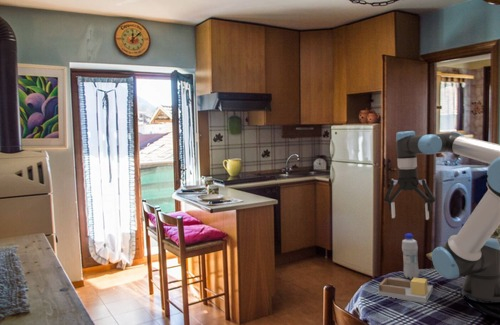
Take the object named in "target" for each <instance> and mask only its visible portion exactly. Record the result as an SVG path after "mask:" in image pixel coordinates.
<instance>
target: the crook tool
mask: <svg viewBox="0 0 500 325" xmlns="http://www.w3.org/2000/svg"><path fill="white" fill-rule="evenodd" d="M388 278H390V279H398V280H405V281H410V279H409V278H401V277H400V278H399V277H398V278H397V277H391V276H390V277H388Z"/></svg>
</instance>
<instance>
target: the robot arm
mask: <svg viewBox="0 0 500 325" xmlns="http://www.w3.org/2000/svg"><path fill="white" fill-rule="evenodd" d="M395 144H396V155H397V156H396V159H397V168H398V169H397V175H398V176H397V180H396V179H391V180H390V183H389V184H390V185H389V187H388V189H387V192H386V194H385V196H384V199H383V201H384V202H387V203H388V210H390V211H391V219H395V218H396V207H395V206H396V205H395V199H396V198H397V197H398V196H399V195H400V193H401V191H414V192H416V193H417V194H418V196H420V197H421V199H423V200H424V201H425V204H424V208H425V211H424V212H425V220H426V221H428V220H429V219H430V212H432V204H433V203H435V202H436V201H437V200H436V199H437V198H435V195H434V194H433V192H432V190H431V189H430V187H429V186H428V183H427V179H419V177H418V175H419V174H418V169H417V168H418V160H417V159H418V158H417V155H434V154H439V153H451V154H455V155H458V156H462V157H465V158H468V159H472V160H475V161H479V162H481V163H485V164H489V166H488V168H487V171H486V175H487V177H486V180H487V182H486V187H487V191H486V192H485V193H484V194H483V197H482V198H481V199H480V201H479V202H478V204H477V205H476V206H475V208H474V209H473V211H472V212H471V214H470V215H469V216H468V218H467V220H466V221H465V223H463V226H462V227H461V228H460V229H459V231H458V233H457V234H453V235H451V236H449V237H448V239H447V240H446V241H445V243H444V244H443V246H437V247H435V248H434V249H433V251H432V253H431V261H432V264H433V268H434V270H436V272H437V273H438V274H439V275H440V276H441V277H443V278H444V279H448V280H451V279H458V278H462V277H465V278H464V281H463V284H462V287H461V295H462V296H463V298H465V297H464V295H468V296H470V297H473V298H476V299H478V300H484V301H491V302H500V242H499V240H498V239H497V238H496V239H495V238H494V237H491V236H492V235H493V234H494V233H495V231H496V230H497V229H498V227H499V226H500V144H499V143H494V142H490V141H485V140H482V139H478V138H473V137H468V136H466V135H463V133H460V132H453V131H452V132H444V133H432V134H420V135H416V131H414V130H408V131H397V132H396V137H395ZM397 184H398V186H399V187H398V188H397V190H396V191H395V192H394V193H393V195H392V196H391V194H392V192H393V190H394V189H395V186H396V185H397ZM419 184H420V185H421V186H422V187H423V188H424V191H425V193H426V194H427V195H426V194H425V193H424V191H423V190H421V188H420V187H419V186H418V185H419Z"/></svg>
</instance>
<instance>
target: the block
mask: <svg viewBox="0 0 500 325" xmlns="http://www.w3.org/2000/svg"><path fill="white" fill-rule="evenodd" d="M410 280H411V281H410V283H411V294H415V295H422V296H425V295H426V294H427V292H428V286H427V285H428V278H422V277H418V278H415V277H412V279H410Z"/></svg>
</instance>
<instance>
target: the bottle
mask: <svg viewBox="0 0 500 325" xmlns="http://www.w3.org/2000/svg"><path fill="white" fill-rule="evenodd" d="M418 249H419V247H418V241H417V240H416V239H414V235H413V234H412V233H409V232H408V233H405V234H404V239H402V241H401V251H402V257H403V275H404V277H405V279H409V280H412V279H413V278H414V277H415V278H419V277H420V273H419V272H420V270H419V262H418V261H419V260H418V251H419V250H418Z"/></svg>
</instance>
